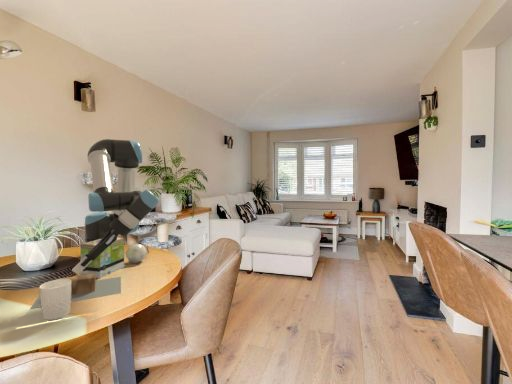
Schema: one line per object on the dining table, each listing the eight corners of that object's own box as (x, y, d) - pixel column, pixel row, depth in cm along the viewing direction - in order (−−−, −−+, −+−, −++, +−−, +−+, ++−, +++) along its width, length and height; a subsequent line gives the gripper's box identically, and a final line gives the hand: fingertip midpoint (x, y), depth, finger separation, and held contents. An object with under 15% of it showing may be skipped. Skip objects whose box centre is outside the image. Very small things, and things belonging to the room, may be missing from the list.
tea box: (100, 280, 111) (99, 245, 110) (80, 278, 113) (79, 243, 112) (125, 268, 125) (124, 237, 125) (106, 266, 127) (105, 236, 127)
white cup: (54, 308, 86) (53, 278, 86) (78, 309, 86) (77, 278, 86) (33, 321, 78) (32, 288, 78) (59, 322, 78) (58, 289, 78)
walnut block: (95, 273, 103) (56, 279, 97) (94, 277, 98) (53, 283, 93) (95, 286, 103) (56, 292, 97) (94, 291, 98) (53, 297, 93)
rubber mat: (120, 278, 113) (120, 276, 113) (121, 294, 97) (121, 292, 97) (43, 289, 101) (43, 288, 101) (29, 310, 85) (29, 309, 85)
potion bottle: (129, 268, 129) (140, 262, 144) (146, 256, 130) (155, 251, 145) (118, 253, 129) (130, 248, 144) (135, 241, 130) (145, 237, 145)
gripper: (117, 214, 109) (69, 260, 102) (116, 219, 97) (62, 271, 90) (131, 226, 111) (85, 272, 105) (133, 232, 100) (81, 283, 93)
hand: (75, 271), depth 97 cm, fingers closed
